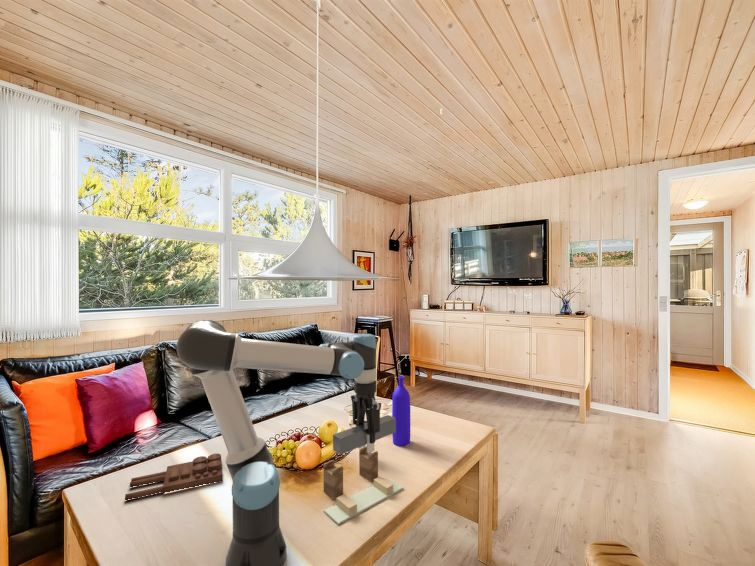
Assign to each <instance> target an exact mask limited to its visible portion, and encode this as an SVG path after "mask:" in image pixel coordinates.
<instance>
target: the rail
mask: <svg viewBox="0 0 755 566" xmlns="http://www.w3.org/2000/svg"><path fill="white" fill-rule="evenodd" d="M371 430H372V429H371ZM395 432H396V418H394V417H392V416H391V415H389V414H387V415H383V416H382V417H381V416H380V432H377V433H375V442H376V441H377V440H380V439H382V438H385V437H387V436H390V435H392V434H393V433H395ZM367 433H368V426H367V423H364V424H361V425H359V426H356V425H355V426H353V427H351V428H347V429H345V430H343V431H339V432H336V433H334V434H332V451H334V452H335V453H336V454H338V455H345V453H349V452H351V451H353V450H357V449H359V448H358V447H361V446H363V445H366V446H367Z"/></svg>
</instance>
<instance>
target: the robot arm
mask: <svg viewBox="0 0 755 566" xmlns="http://www.w3.org/2000/svg"><path fill="white" fill-rule="evenodd" d="M176 354H177V356H178V358H179V360H180V361H181V362H182V363H183V365H185V366H186V367H189V369H190V372H191V376H194V377H197V378H199V379H200V381H201V384H202V386H203V387H202V388H204V391H205V394H206V397H207V399H208V403H209V404H210V407H211V410H212V413H213V415H214V418H215V421H216V423H217V426H218V429H219V431H220V433H221V436H222V439H223V442H224V444H225V446H226V450H227V452H228V453H226V456H225V458H224V459H225V464H226V466H227V469H228V472H229V475H230V477H231V479H232V485H231V496H232V538H231V541H230V544H229V548H228V550H227V554H226V556H225V566H282V565H285V561H286V558H287V544H286V540H285V538H284V535H283V533H282V530H281V527H280V484H281V482H280V481H281V479H280V475H279V471H278V469H277V468H276V466H275V465H274V459H273V456H272V454H271V452H270V451H269V449H268V446H267V444H266V441H265V440H264V438H262V437H258V434H257V433H256V430H255V427H254V424H253V422H252V419H251V415H250V413H249V410H248V408H247V405H246V401H245V400H244V397H243V394H242V391H241V389H240V386H239V383H238V380H237V378H236V375H235V373H234V369H237V368H239V369H250V370H251V369H252V370H265V371H266V370H268V371H280V372H281V371H282V372H291V373H292V372H293V373H307V374H320V375H321V374H322V375H331V376H341V378H345V379H348V380H353V379H354V381H353V384H354V385H353V389H354V390H353V392H354V393H355V394H353V395H351V396H350V398H351V404H352V405H351V407H352V408H351V409H352V411H351V413H352V425H355V427H356V426H359V425H361V424H364V421H365V418H366V421H367V426H368V433H367V444H366V445H363V446H361V447H358V448H357V449H361V448H363V447H366V446H367V453H368V454H369V453H373V452H375V451H376V450H375V442H376V441H375V433H377V432H380V418H381V415H380V414H381V408H382V403H381V402H377V400H376V396H375V395H376V394H375V393H376V392H377V340H376V337H375V335H374V334H371V333H357V334H355V335H354V336H353V339H352V340H351V341H344V342H343V341H341V342H327V343H321V344H320V345H318V346H317V345H308V344H297V343H289V342H283V341H282V342H280V341H271V340H262V339H250V338H242V337H241V336H240V335H239V334H238V333H234V332H233V333H232V332H228V331H227V330H226V328H225V327H224V326H223V325H222V324H221V323H220V322H217V321H216V320H215V321H214V320H213V319H212V320H211V319H203V320H202V319H201V320H197V321H196V322H193V323H191V324H190V325H188V326H187V327H186V329H185V330H183V332H182V333H181V335H179V337H178V340H177V342H176ZM371 429H372V430H371Z"/></svg>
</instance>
